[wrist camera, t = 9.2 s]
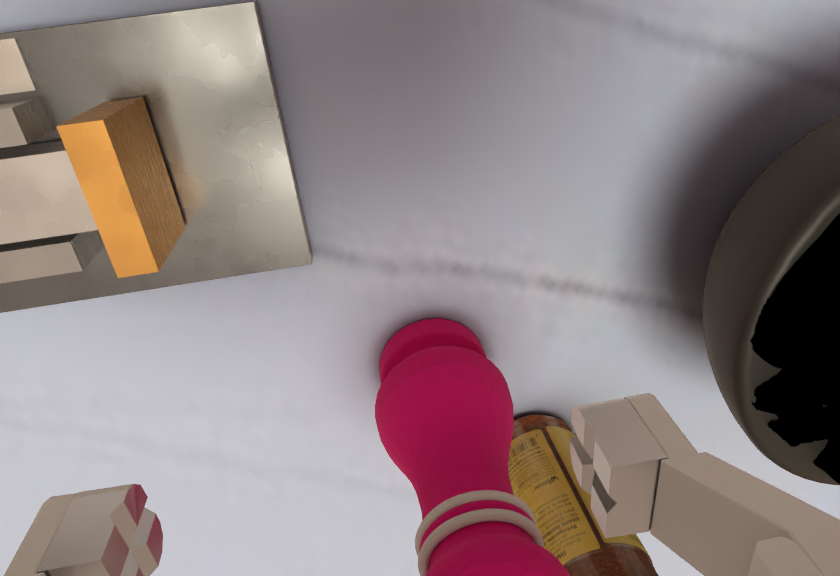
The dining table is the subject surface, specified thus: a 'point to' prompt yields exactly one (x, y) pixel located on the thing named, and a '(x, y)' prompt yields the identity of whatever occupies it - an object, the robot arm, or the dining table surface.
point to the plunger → (95, 187)
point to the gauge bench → (160, 145)
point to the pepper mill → (457, 454)
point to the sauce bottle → (566, 503)
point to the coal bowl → (783, 308)
